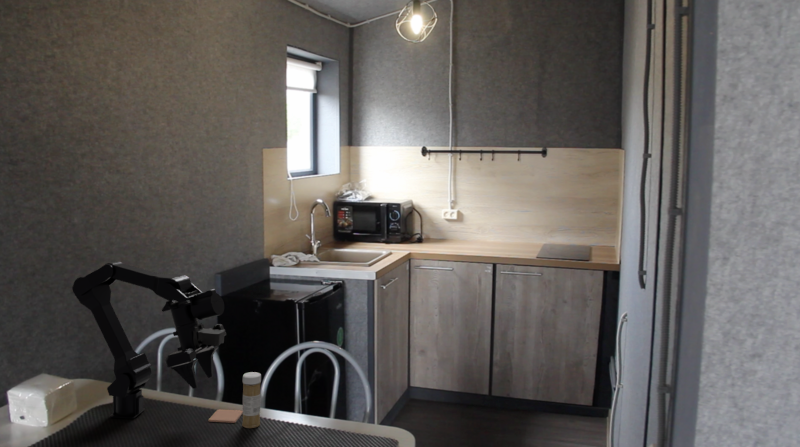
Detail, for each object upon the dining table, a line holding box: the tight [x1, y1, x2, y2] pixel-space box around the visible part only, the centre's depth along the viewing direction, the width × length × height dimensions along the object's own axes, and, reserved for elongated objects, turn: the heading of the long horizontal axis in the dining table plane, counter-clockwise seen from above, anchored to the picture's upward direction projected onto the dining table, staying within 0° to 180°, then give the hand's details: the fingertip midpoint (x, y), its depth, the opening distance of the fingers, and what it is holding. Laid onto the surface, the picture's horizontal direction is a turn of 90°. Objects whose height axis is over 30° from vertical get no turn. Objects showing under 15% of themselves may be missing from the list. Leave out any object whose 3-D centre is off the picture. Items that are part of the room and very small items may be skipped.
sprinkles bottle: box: [241, 371, 262, 429], centre depth 152 cm, size 5×5×13 cm
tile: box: [208, 408, 243, 424], centre depth 157 cm, size 7×7×1 cm
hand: (203, 382), depth 152 cm, fingers open, 9 cm apart
